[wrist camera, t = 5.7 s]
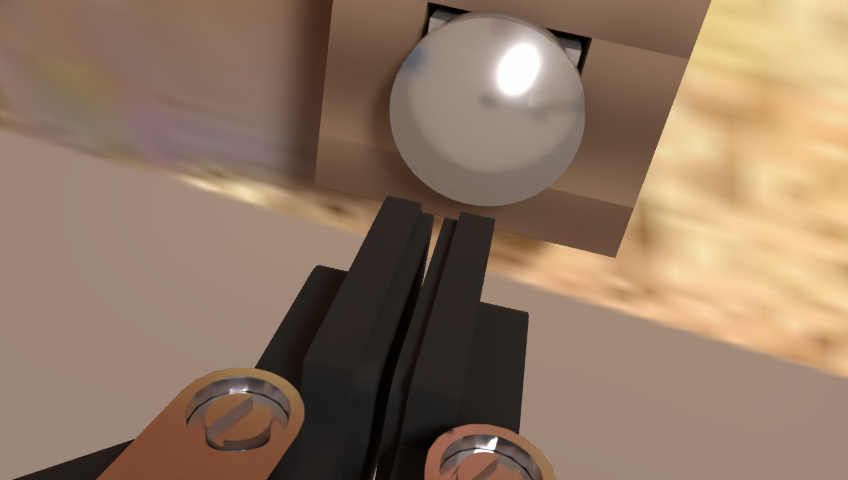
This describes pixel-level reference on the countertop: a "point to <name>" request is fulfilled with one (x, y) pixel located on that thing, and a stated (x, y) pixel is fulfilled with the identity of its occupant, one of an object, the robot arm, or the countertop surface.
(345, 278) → the robot arm
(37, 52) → the countertop surface
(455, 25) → the plunger steel
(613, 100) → the block
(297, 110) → the countertop surface
